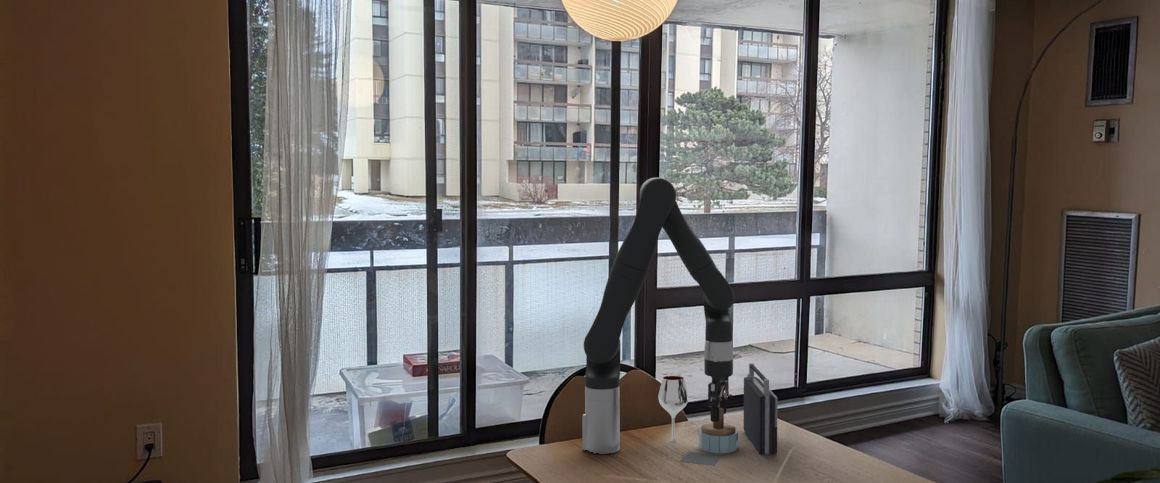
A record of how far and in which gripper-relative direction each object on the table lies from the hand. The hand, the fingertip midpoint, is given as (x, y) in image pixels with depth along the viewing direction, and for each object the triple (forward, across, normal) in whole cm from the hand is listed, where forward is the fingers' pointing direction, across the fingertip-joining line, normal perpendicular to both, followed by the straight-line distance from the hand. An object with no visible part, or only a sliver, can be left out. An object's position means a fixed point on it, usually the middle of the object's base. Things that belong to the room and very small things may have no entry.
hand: (718, 417), depth 227 cm
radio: (+9, -10, +9) cm, 16 cm away
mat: (+9, +11, -2) cm, 14 cm away
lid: (+4, 0, 0) cm, 4 cm away
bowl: (+9, 0, 0) cm, 9 cm away
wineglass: (+9, -2, -13) cm, 16 cm away
